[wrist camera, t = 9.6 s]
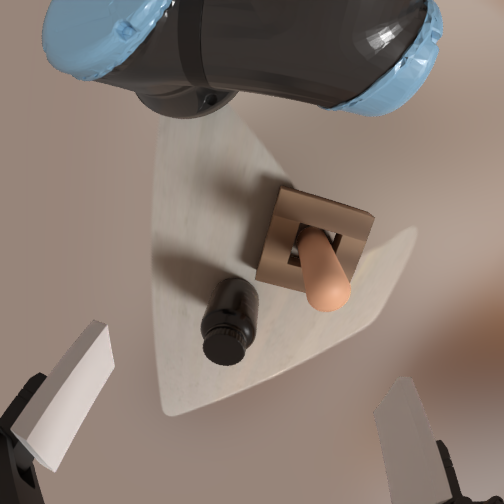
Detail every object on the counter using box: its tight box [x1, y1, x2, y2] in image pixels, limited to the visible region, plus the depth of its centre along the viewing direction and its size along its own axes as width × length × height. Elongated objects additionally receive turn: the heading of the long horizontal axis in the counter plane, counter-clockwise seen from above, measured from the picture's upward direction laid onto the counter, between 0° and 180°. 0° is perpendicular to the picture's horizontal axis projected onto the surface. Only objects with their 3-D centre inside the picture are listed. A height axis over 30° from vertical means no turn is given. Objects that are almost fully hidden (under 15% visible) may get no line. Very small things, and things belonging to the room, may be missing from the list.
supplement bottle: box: [201, 278, 259, 366], centre depth 36 cm, size 7×7×12 cm
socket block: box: [255, 185, 375, 293], centre depth 36 cm, size 12×12×3 cm
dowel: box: [297, 227, 351, 312], centre depth 31 cm, size 4×4×14 cm
